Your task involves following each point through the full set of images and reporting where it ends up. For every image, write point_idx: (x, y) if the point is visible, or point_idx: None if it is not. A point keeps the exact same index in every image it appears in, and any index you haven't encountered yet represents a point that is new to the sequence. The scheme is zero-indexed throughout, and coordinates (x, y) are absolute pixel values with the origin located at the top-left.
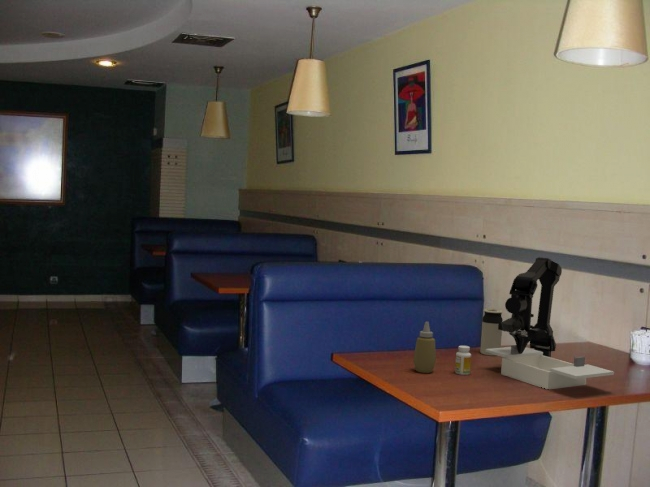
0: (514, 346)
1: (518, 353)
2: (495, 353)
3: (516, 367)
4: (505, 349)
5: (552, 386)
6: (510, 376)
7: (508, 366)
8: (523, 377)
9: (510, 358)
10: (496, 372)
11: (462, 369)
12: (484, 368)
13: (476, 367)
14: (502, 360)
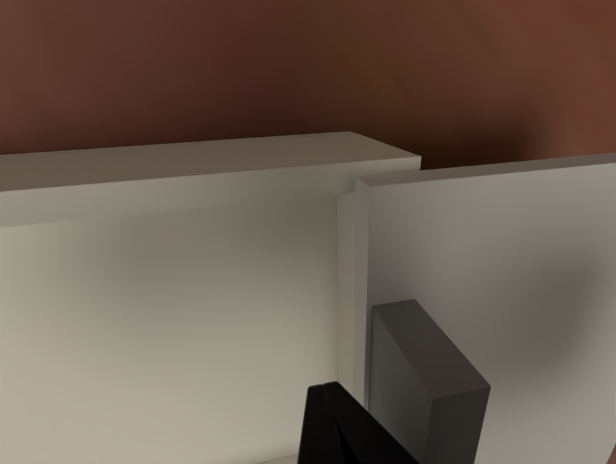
0: (429, 417)
1: (371, 391)
2: (566, 161)
3: (143, 164)
4: (585, 368)
5: None
6: (236, 140)
7: (281, 151)
8: (46, 157)
9: None
10: (409, 135)
11: None
12: (534, 127)
13: (586, 81)
14: (396, 151)
